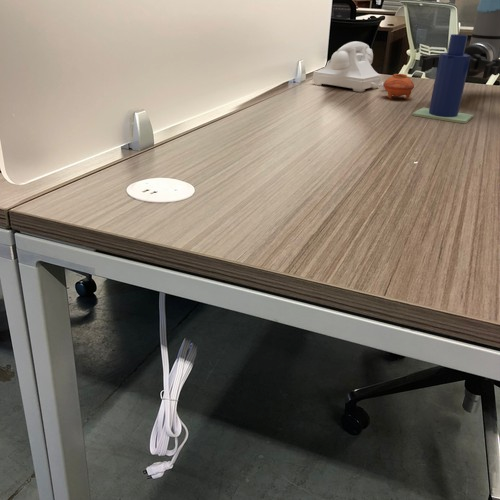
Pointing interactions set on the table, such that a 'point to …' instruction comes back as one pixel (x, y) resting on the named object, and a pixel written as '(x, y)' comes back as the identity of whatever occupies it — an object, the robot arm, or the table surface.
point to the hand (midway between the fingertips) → (453, 68)
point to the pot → (398, 85)
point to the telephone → (350, 68)
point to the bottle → (450, 78)
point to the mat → (459, 118)
